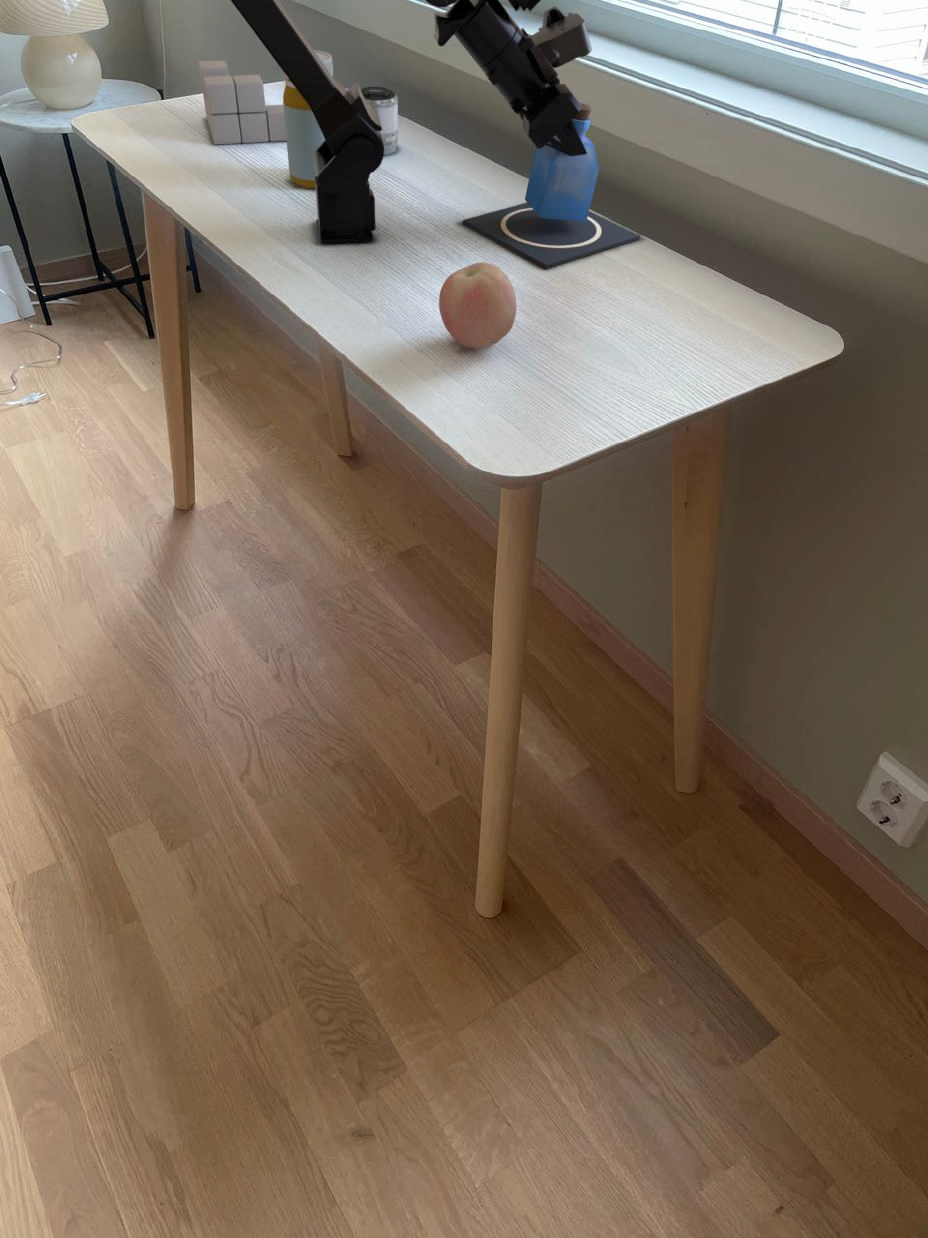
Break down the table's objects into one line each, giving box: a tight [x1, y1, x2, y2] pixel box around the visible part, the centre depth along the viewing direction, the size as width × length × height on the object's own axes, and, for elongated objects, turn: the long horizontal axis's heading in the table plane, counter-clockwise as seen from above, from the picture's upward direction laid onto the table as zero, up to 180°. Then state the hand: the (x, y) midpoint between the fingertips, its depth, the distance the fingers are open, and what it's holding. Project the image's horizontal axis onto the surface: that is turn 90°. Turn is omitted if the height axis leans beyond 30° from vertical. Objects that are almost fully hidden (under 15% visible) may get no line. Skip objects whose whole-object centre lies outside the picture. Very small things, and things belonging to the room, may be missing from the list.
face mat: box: [462, 202, 641, 270], centre depth 117 cm, size 16×16×1 cm
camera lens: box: [360, 86, 399, 156], centre depth 134 cm, size 6×6×8 cm
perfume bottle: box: [524, 102, 600, 222], centre depth 112 cm, size 6×6×12 cm
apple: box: [438, 261, 517, 350], centre depth 93 cm, size 8×8×8 cm
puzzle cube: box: [198, 60, 287, 145], centre depth 138 cm, size 12×12×8 cm
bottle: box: [282, 49, 334, 190], centre depth 121 cm, size 7×7×15 cm
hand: (579, 151), depth 112 cm, fingers closed on perfume bottle, 4 cm apart
